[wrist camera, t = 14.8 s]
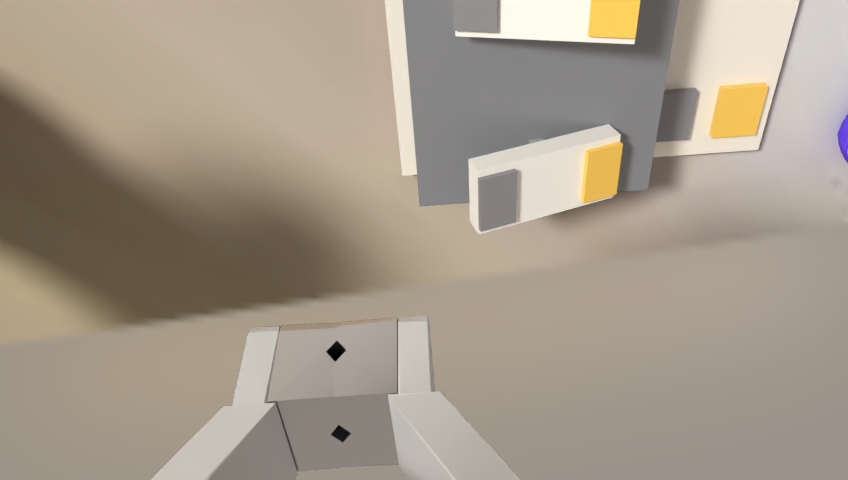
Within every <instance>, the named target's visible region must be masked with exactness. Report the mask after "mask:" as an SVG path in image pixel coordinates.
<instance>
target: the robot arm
mask: <svg viewBox="0 0 848 480" xmlns="http://www.w3.org/2000/svg"><path fill="white" fill-rule="evenodd" d="M377 465H378V466H379V465H399V467H400V469H401V471H402V472H403V474H404V475H405V477H406V478H407V480H519V479H518V477H517V476H516V475H515V474H514V473H513V472H512V471H511V469H510V468H509V467H508V466H507V465H506V464H505V463H504V462H503V460H501V458H500V457H499V456H498V455H497V454H496V453H495V451H494V450H493V449H492V448H491V447H490V446H489V445H488V443H487V442H486V441H485V440H484V439H483V438H482V437H481V436H480V434H479V433H478V432H477V431H476V430H475V429H474V427H473V426H472V425H471V424H470V423H469V422H468V421H467V420H466V418H465V417H464V416H463V415H462V414H461V413H460V412H459V410H458V409H457V408H456V407H455V406H454V405H453V404H452V403H451V401H450V400H449V399H448V398H447V397H446V396H445V395H444V394H443V392H442V391H437V392H435V384H434V374H433V361H432V349H431V338H430V326H429V317H428V316H427V315H422V316H409V317H399V319H398V318H386V319H385V318H384V319H372V320H360V321H348V322H340V323H320V324H299V325H282V326H268V327H252V329H251V330H250V332H249V333H248V335H247V340H246V344H245V349H244V353H243V358H242V363H241V367H240V371H239V376H238V380H237V385H236V389H235V394H234V398H233V403H232V405H231V406H223V407H222V408H221V409H220V410H219V411H218V412H217V413H216V414H215V415H214V416H213V417H212V418H211V419H210V420H209V421H208V422H207V423H206V424H205V425H204V426H203V427H202V428H201V429H200V430H199V431H198V432H197V433H196V434H195V435H194V436H193V437H192V438H191V439H190V441H189V442H188V443H187V444H186V445H185V446H184V447H183V448H182V449H181V450H180V451H179V452H178V453H177V454H176V455H175V456H174V457H173V458H172V459H171V460H170V461H169V462H168V463H167V464H166V465H165V466H164V467H163V468H162V469H161V470H160V471H159V472H158V473H157V474H156V475H155V476H154V477H153V478H152V479H151V480H295V478H296V477H297V475H298V473H297V472H298V471H307V470H319V469H329V468H340V467H353V466H377Z"/></svg>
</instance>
